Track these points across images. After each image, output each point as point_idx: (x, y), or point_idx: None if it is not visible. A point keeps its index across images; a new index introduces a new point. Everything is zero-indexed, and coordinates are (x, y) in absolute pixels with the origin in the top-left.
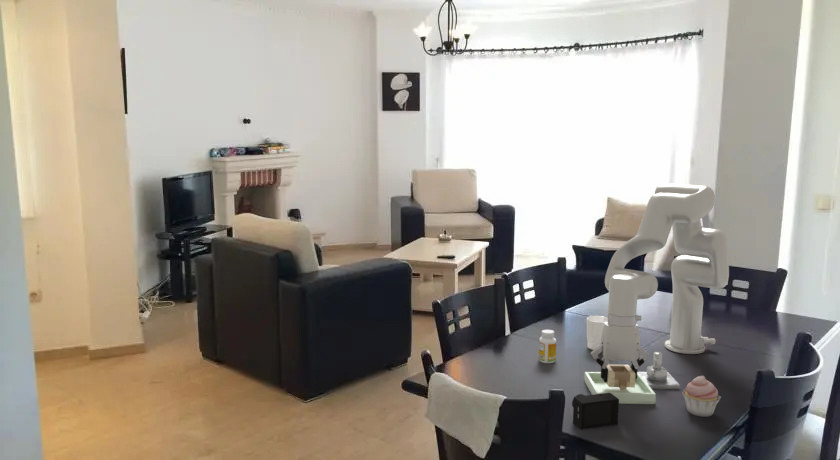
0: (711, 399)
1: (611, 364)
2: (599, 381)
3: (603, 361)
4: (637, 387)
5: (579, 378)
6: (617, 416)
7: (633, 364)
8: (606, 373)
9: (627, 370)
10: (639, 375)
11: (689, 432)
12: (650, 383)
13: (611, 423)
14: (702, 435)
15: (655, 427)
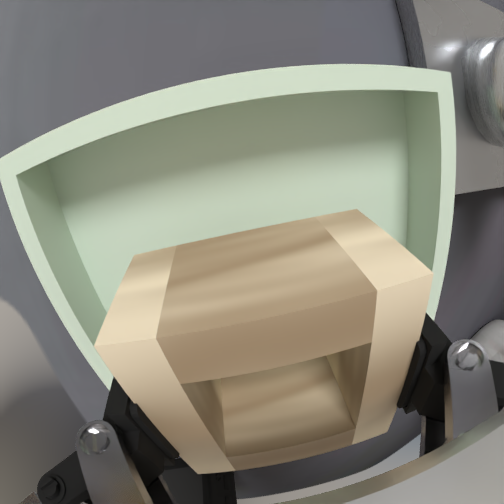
0: None
1: (199, 337)
2: (122, 158)
3: (111, 473)
4: (387, 213)
5: (11, 112)
6: (233, 486)
7: (421, 445)
8: None
9: (358, 403)
10: (448, 135)
11: (391, 437)
12: (464, 171)
13: (216, 474)
14: (408, 434)
15: (327, 452)
